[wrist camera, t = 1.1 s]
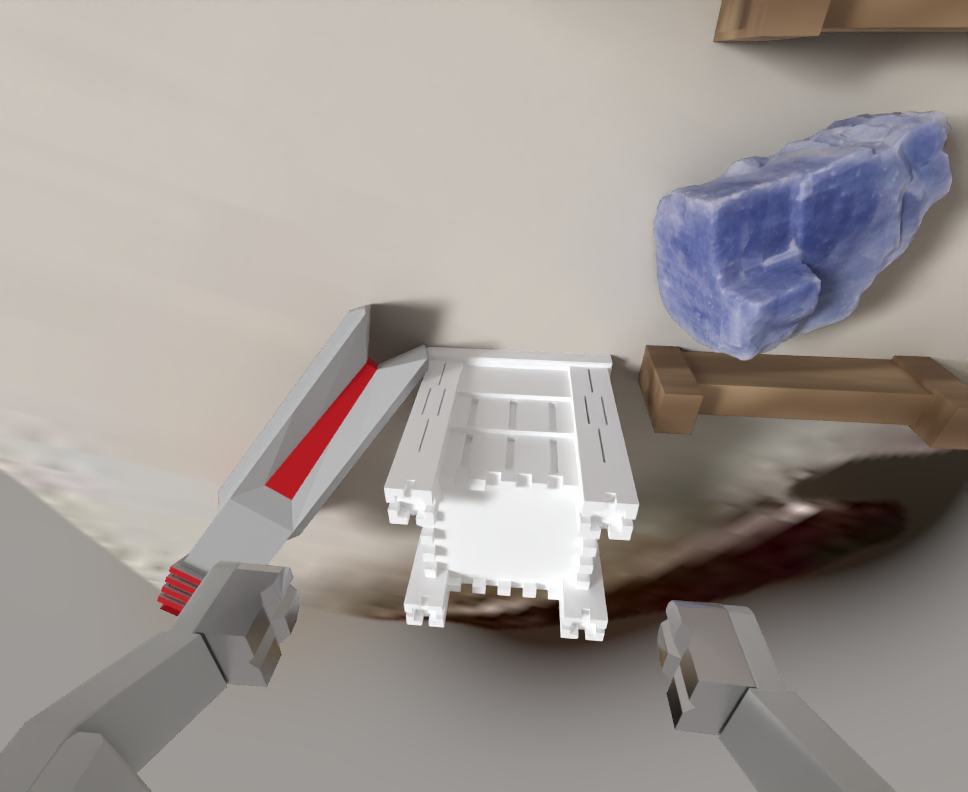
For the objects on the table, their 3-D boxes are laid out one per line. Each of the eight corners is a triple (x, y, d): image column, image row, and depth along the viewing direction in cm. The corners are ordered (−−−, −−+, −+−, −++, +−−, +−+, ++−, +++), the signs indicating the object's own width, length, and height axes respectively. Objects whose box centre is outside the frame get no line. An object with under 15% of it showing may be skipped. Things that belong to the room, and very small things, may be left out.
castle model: (587, 485, 45) (606, 644, 32) (438, 475, 46) (402, 626, 33) (610, 353, 37) (647, 500, 24) (428, 346, 38) (376, 482, 25)
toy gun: (428, 329, 47) (438, 368, 33) (270, 535, 51) (218, 649, 37) (369, 285, 45) (352, 306, 30) (209, 504, 49) (130, 611, 35)
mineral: (727, 401, 27) (682, 251, 22) (668, 326, 35) (624, 202, 30) (1015, 282, 24) (1041, 71, 19) (878, 228, 32) (869, 68, 26)
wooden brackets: (731, -40, 23) (787, -69, 18) (1179, -47, 22) (1381, -82, 17) (638, 381, 38) (654, 432, 32) (906, 393, 36) (969, 449, 31)
